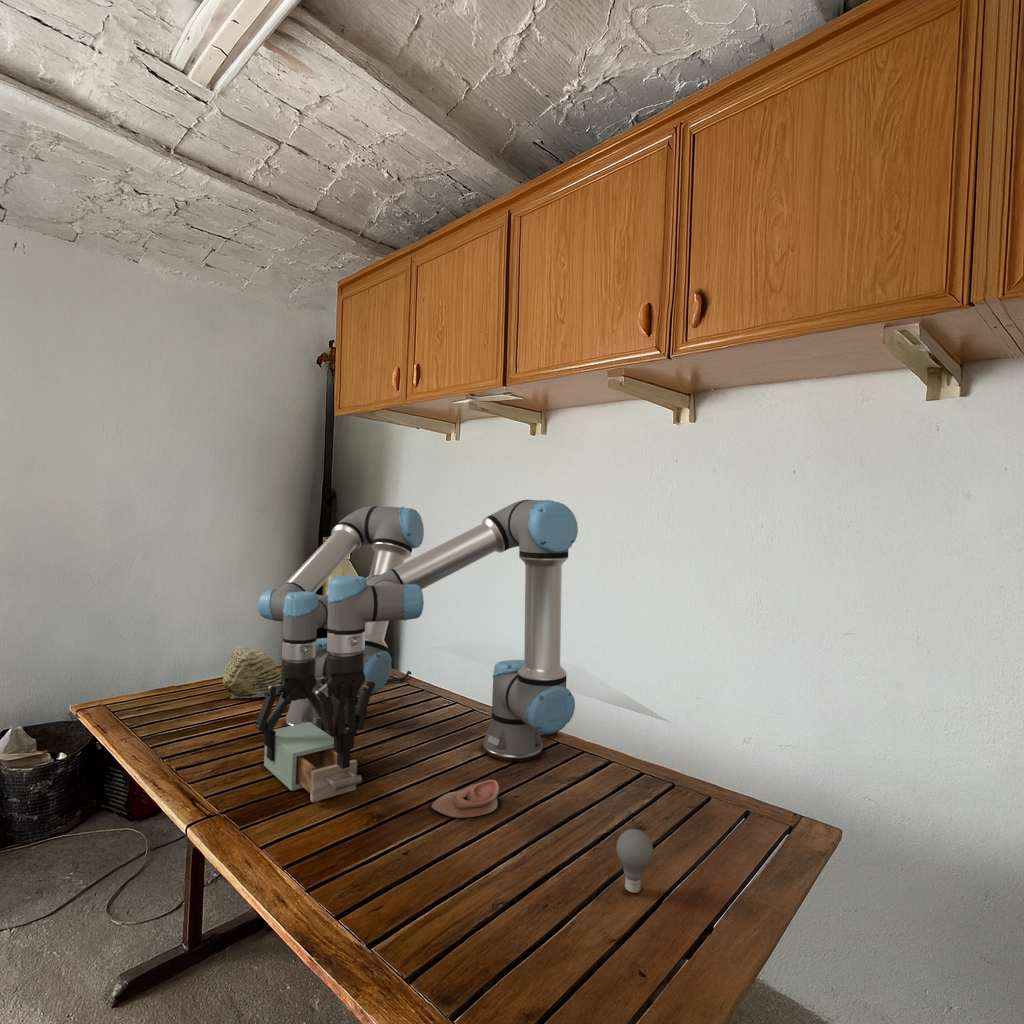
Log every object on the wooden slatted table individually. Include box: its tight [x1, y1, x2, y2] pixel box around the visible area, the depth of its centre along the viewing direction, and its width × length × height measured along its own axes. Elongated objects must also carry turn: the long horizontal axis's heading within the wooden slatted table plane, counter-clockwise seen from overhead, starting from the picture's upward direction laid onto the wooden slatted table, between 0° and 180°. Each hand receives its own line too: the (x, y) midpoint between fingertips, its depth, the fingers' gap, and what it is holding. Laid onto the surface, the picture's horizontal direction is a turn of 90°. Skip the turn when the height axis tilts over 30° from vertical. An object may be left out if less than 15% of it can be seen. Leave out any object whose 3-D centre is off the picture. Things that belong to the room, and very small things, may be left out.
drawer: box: [296, 748, 363, 803], centre depth 136 cm, size 21×10×6 cm, turn 41°
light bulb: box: [615, 828, 654, 894], centre depth 106 cm, size 6×6×10 cm
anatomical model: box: [431, 779, 500, 819], centre depth 132 cm, size 13×4×12 cm
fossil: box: [222, 646, 283, 699], centre depth 198 cm, size 9×18×15 cm, turn 132°
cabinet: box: [263, 722, 334, 792], centre depth 145 cm, size 16×11×8 cm
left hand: (295, 752), depth 148 cm, fingers closed on cabinet, 11 cm apart
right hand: (343, 765), depth 130 cm, fingers closed
